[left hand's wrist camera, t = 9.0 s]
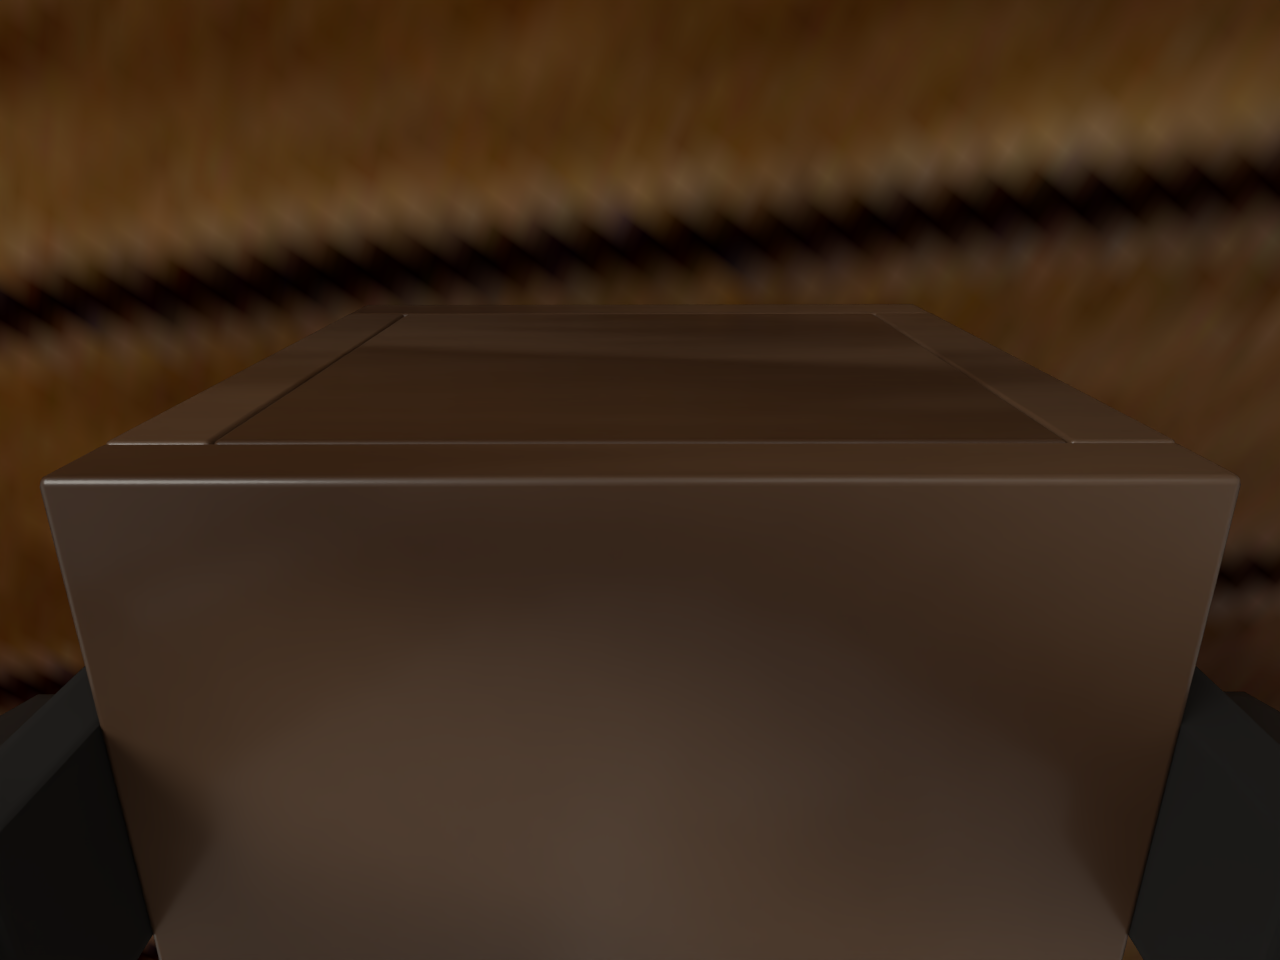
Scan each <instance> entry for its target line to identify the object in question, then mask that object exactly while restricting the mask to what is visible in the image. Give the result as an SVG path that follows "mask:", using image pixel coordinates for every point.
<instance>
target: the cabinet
mask: <svg viewBox="0 0 1280 960" xmlns="http://www.w3.org/2000/svg"><path fill="white" fill-rule="evenodd" d="M1240 485H1241V484H1240V478H1239V477H1238V475H1236V474H1234V473H1232V472H1230V471H1228V470H1226V469H1224V468H1222V467H1221V466H1219V465H1217V464H1215V463H1213V462H1211V461H1209V460H1207V459H1205V458H1203V457H1202V456H1200V455H1198V454H1196V453H1194V452H1192V451H1190V450H1188V449H1186V448H1184V447H1183V446H1181V445H1178V444H1176V443H1175V442H1174V440H1173V439H1171V438H1169V437H1167V436H1165V435H1163V434H1161V433H1159V432H1157V431H1155V430H1154V429H1152V428H1150V427H1148V426H1146V425H1144V424H1142V423H1140V422H1138V421H1136V420H1134V419H1132V418H1131V417H1129V416H1127V415H1125V414H1123V413H1121V412H1119V411H1117V410H1115V409H1113V408H1111V407H1109V406H1108V405H1106V404H1104V403H1102V402H1100V401H1098V400H1096V399H1094V398H1092V397H1090V396H1088V395H1086V394H1085V393H1083V392H1081V391H1079V390H1077V389H1075V388H1073V387H1071V386H1069V385H1067V384H1065V383H1063V382H1062V381H1060V380H1058V379H1056V378H1054V377H1052V376H1050V375H1048V374H1046V373H1044V372H1042V371H1040V370H1039V369H1037V368H1035V367H1033V366H1031V365H1029V364H1027V363H1025V362H1023V361H1021V360H1019V359H1018V358H1016V357H1014V356H1012V355H1010V354H1008V353H1006V352H1004V351H1002V350H1000V349H998V348H996V347H995V346H993V345H991V344H989V343H987V342H985V341H983V340H981V339H979V338H977V337H975V336H973V335H972V334H970V333H968V332H966V331H964V330H962V329H960V328H958V327H956V326H954V325H952V324H950V323H949V322H947V321H945V320H943V319H941V318H939V317H937V316H935V315H933V314H931V313H928V312H926V311H925V310H923V309H921V308H919V307H917V306H915V305H913V304H877V305H367V306H365V307H363V308H361V309H359V310H357V311H355V312H353V313H352V314H349V315H347V316H345V317H343V318H342V319H340V320H338V321H336V322H334V323H332V324H330V325H328V326H326V327H324V328H323V329H321V330H319V331H317V332H315V333H313V334H311V335H309V336H307V337H306V338H304V339H302V340H300V341H298V342H296V343H294V344H292V345H290V346H288V347H287V348H285V349H283V350H281V351H279V352H277V353H275V354H273V355H271V356H269V357H268V358H266V359H264V360H262V361H260V362H258V363H256V364H254V365H252V366H250V367H249V368H247V369H245V370H243V371H241V372H239V373H237V374H235V375H233V376H231V377H230V378H228V379H226V380H224V381H222V382H220V383H218V384H216V385H214V386H213V387H211V388H209V389H207V390H205V391H203V392H201V393H199V394H197V395H195V396H194V397H192V398H190V399H188V400H186V401H184V402H182V403H180V404H178V405H176V406H175V407H173V408H171V409H169V410H167V411H165V412H163V413H161V414H159V415H157V416H156V417H154V418H152V419H150V420H148V421H146V422H144V423H142V424H140V425H138V426H137V427H135V428H133V429H131V430H129V431H127V432H125V433H123V434H121V435H120V436H118V437H116V438H114V439H112V440H110V441H108V442H107V445H104V446H102V447H99V448H97V449H96V450H94V451H92V452H90V453H88V454H86V455H84V456H82V457H80V458H79V459H77V460H75V461H73V462H71V463H69V464H67V465H65V466H63V467H62V468H60V469H58V470H56V471H54V472H52V473H50V474H48V475H46V476H45V477H43V478H42V479H41V482H40V489H41V493H42V497H43V501H44V505H45V509H46V513H47V517H48V521H49V525H50V529H51V533H52V537H53V541H54V545H55V549H56V553H57V557H58V561H59V564H60V568H61V572H62V576H63V580H64V584H65V588H66V592H67V596H68V600H69V604H70V608H71V612H72V616H73V620H74V624H75V628H76V632H77V636H78V640H79V644H80V648H81V651H82V655H83V659H84V663H85V667H86V671H87V675H88V679H89V683H90V687H91V691H92V695H93V699H94V703H95V707H96V711H97V715H98V719H99V723H100V727H101V731H102V735H103V738H104V742H105V746H106V750H107V754H108V758H109V762H110V766H111V770H112V774H113V778H114V782H115V786H116V790H117V794H118V798H119V802H120V806H121V810H122V814H123V818H124V822H125V825H126V829H127V833H128V837H129V841H130V845H131V849H132V853H133V857H134V861H135V865H136V869H137V873H138V877H139V881H140V885H141V889H142V893H143V897H144V901H145V905H146V909H147V912H148V916H149V920H150V924H151V928H152V932H153V936H154V940H155V944H156V948H157V952H158V956H159V960H1122V959H1123V955H1124V951H1125V947H1126V943H1127V939H1128V935H1129V931H1130V927H1131V923H1132V919H1133V915H1134V911H1135V907H1136V903H1137V898H1138V894H1139V890H1140V886H1141V882H1142V878H1143V874H1144V870H1145V866H1146V862H1147V858H1148V854H1149V850H1150V846H1151V842H1152V838H1153V834H1154V830H1155V826H1156V822H1157V818H1158V814H1159V810H1160V806H1161V802H1162V798H1163V794H1164V790H1165V786H1166V782H1167V778H1168V774H1169V770H1170V766H1171V762H1172V758H1173V754H1174V750H1175V746H1176V742H1177V738H1178V734H1179V730H1180V726H1181V722H1182V718H1183V714H1184V710H1185V706H1186V702H1187V698H1188V694H1189V690H1190V686H1191V682H1192V678H1193V674H1194V670H1195V666H1196V662H1197V658H1198V654H1199V650H1200V646H1201V642H1202V638H1203V634H1204V630H1205V626H1206V622H1207V618H1208V614H1209V610H1210V606H1211V602H1212V598H1213V594H1214V590H1215V586H1216V582H1217V578H1218V574H1219V570H1220V566H1221V562H1222V557H1223V553H1224V549H1225V545H1226V541H1227V537H1228V533H1229V529H1230V525H1231V521H1232V517H1233V513H1234V509H1235V505H1236V501H1237V497H1238V493H1239V489H1240Z"/></svg>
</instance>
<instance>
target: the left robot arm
mask: <svg viewBox="0 0 1280 960" xmlns="http://www.w3.org/2000/svg"><path fill="white" fill-rule="evenodd" d="M152 935H153V932H152V928H151V924H150V920H149V916H148V912H147V909H146V905H145V901H144V897H143V893H142V889H141V885H140V881H139V877H138V873H137V869H136V865H135V861H134V857H133V853H132V849H131V845H130V841H129V837H128V833H127V829H126V825H125V822H124V818H123V814H122V810H121V806H120V802H119V798H118V794H117V790H116V786H115V782H114V778H113V774H112V770H111V766H110V762H109V758H108V754H107V750H106V746H105V742H104V738H103V735H102V731H101V727H100V723H99V719H98V715H97V711H96V707H95V703H94V699H93V695H92V691H91V687H90V683H89V679H88V675H87V671H86V667H84V668H83V669H81V670H80V671H79V672H78V673H77V674H76V675H75V676H74V677H73V678H72V679H71V680H70V681H69V682H68V683H67V684H66V685H65V686H63V687H62V688H61V689H60V690H59V691H58V692H57V693H56V694H55V695H36V696H35V697H33V698H31V699H29V700H28V701H26V702H24V703H22V704H20V705H19V706H17V707H15V708H13V709H12V710H10V711H8V712H6V713H5V714H3V715H1V716H0V960H137V959H138V958H139V956H140V954H141V953H142V951H143V950H144V948H145V946H146V945H147V943H148V941H149V940H150V938H151V937H152ZM1129 937H1130V938H1131V940H1132V942H1133V943H1134V945H1135V946H1136V948H1137V950H1138V951H1139V953H1140V955H1141V956H1142V958H1143V959H1144V960H1280V712H1279V711H1277V710H1275V709H1274V708H1272V707H1270V706H1268V705H1267V704H1265V703H1263V702H1261V701H1259V700H1258V699H1256V698H1254V697H1252V696H1251V695H1249V694H1247V693H1245V692H1223V691H1222V690H1221V689H1220V688H1219V687H1218V686H1216V685H1215V684H1214V683H1213V682H1212V681H1211V680H1210V679H1209V678H1208V677H1207V676H1206V675H1205V674H1204V673H1203V672H1202V671H1201V670H1200V669H1198V668H1197V667H1196V666H1195V670H1194V674H1193V678H1192V682H1191V686H1190V690H1189V694H1188V698H1187V702H1186V706H1185V710H1184V714H1183V718H1182V722H1181V726H1180V730H1179V734H1178V738H1177V742H1176V746H1175V750H1174V754H1173V758H1172V762H1171V766H1170V770H1169V774H1168V778H1167V782H1166V786H1165V790H1164V794H1163V798H1162V802H1161V806H1160V810H1159V814H1158V818H1157V822H1156V826H1155V830H1154V834H1153V838H1152V842H1151V846H1150V850H1149V854H1148V858H1147V862H1146V866H1145V870H1144V874H1143V878H1142V882H1141V886H1140V890H1139V894H1138V898H1137V903H1136V907H1135V911H1134V915H1133V919H1132V923H1131V927H1130V931H1129Z"/></svg>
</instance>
